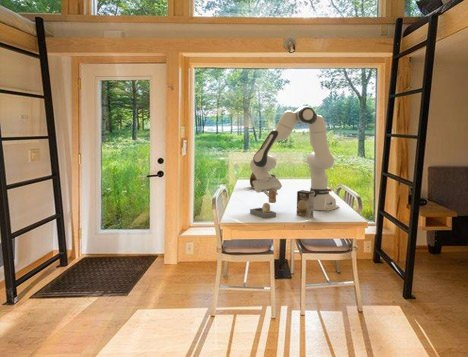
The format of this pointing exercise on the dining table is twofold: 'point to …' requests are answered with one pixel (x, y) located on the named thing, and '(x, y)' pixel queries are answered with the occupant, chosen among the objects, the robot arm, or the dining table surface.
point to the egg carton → (260, 213)
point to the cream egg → (266, 208)
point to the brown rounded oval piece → (272, 196)
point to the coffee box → (305, 203)
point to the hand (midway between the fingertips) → (272, 195)
